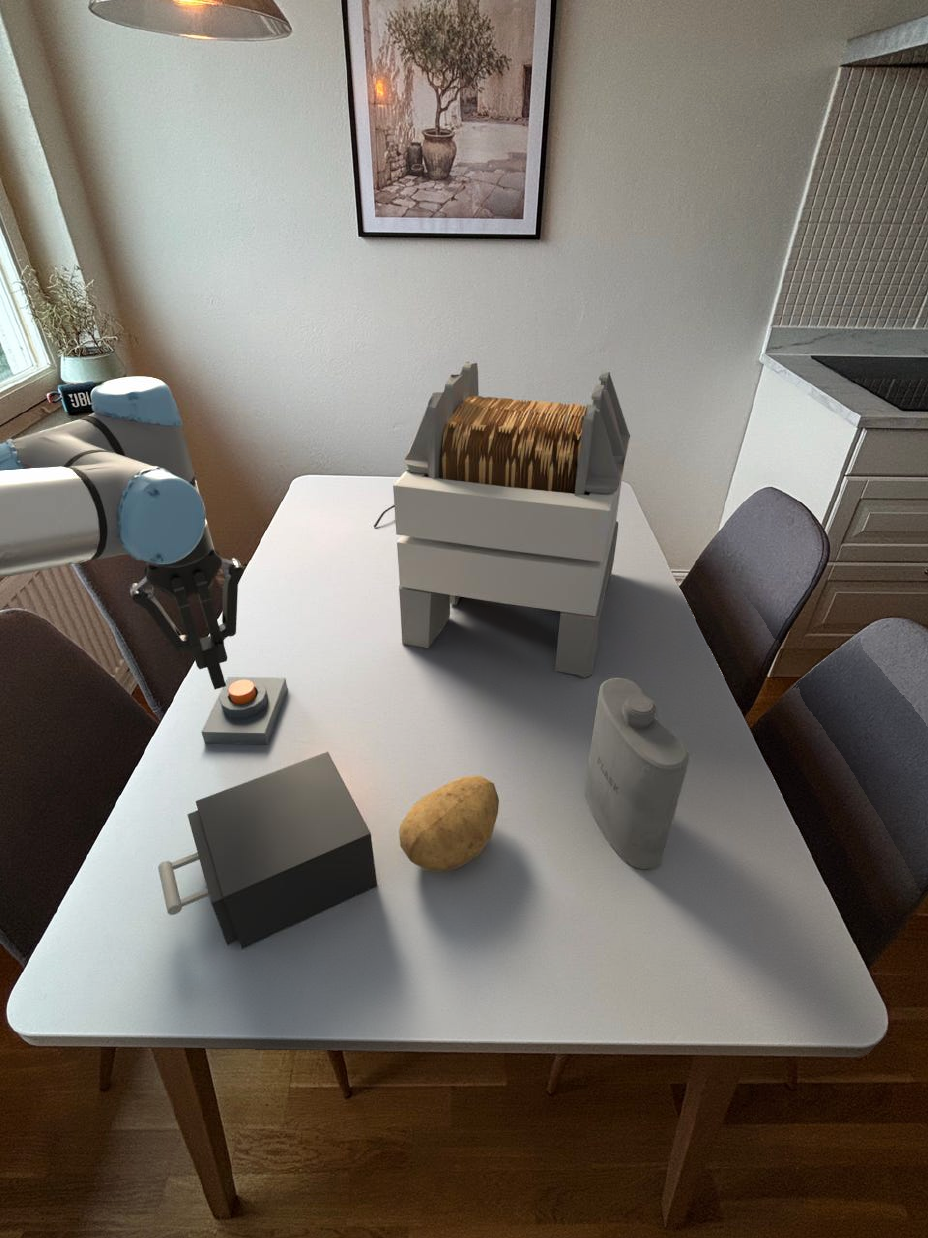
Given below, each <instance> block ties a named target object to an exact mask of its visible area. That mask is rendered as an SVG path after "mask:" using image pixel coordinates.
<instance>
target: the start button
mask: <svg viewBox="0 0 928 1238" xmlns="http://www.w3.org/2000/svg"><path fill="white" fill-rule="evenodd" d="M229 695H230V698H231V701H232V702H233V703H235V704H245V703H248V702H251V701H252V700H253V699H254V698H255V697H256V691H255V687H254V684H253V682H252V681H250V680H239V681H236V682H234V683H233V684H231V685H230V687H229Z"/></svg>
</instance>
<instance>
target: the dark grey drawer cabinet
mask: <svg viewBox="0 0 928 1238" xmlns="http://www.w3.org/2000/svg"><path fill="white" fill-rule="evenodd" d="M195 804H196V809H197V810H198V812H199V815H200V819H201V822H202V826H203V829H204V833H205V836H206V840H207V843H208V847H209V850H210V854H211V857H212V861H213V864H214V868H215V871H216V875H217V878H218V881H219V885H220V888H221V892H222V895H223V899H224V901H225V904H226V907H227V910H228V913H229V915H230V918H231V921H232V924H233V927H234V929H235V932H236V935H237V938H238V941H237V942H238V944H239V946H240V949H241V950H245V949H246V948H249V947H250V946H253V945H255V944H257V943H259V942H261V941H263V940H265V939H267V938H269V937H272V936H274V935H277V934H278V933H281V932H283V931H284V930H287V929H289V928H291V927H293V926H295V925H298V924H300V923H302V922H304V921H306V920H309V919H310V918H312V917H314V916H316V915H318V914H321V913H323V912H325V911H327V910H330V909H332V908H333V907H336V906H338V905H340V904H343V903H344V902H346V901H348V900H351V899H353V898H355V897H357V896H359V895H362V894H363V893H366V892H368V891H370V890H373V889H374V888H376V887H378V880H377V870H376V864H375V863H376V862H375V855H374V848H373V841H372V833H371V831H370V829H369V827H368V825H367V823H366V821H365V820H364V817H363V816H362V814H361V812H360V810H359V808H358V806H357V804H356V802H355V800H354V799H353V796H352V795H351V793H350V791H349V789H348V788H347V785H346V783H345V782H344V779H343V778H342V776H341V774H340V772H339V770H338V768H337V766H336V764H335V763H334V760H333V759H332V756H331V755H330V753H329V751H326V752H323V753H320V754H318V755H315V756H312V757H309V758H308V759H305V760H302V761H299V762H296V763H294V764H291V765H288V766H286V767H285V766H284V767H283V768H281V769H278V770H275V771H273V772H269V773H267V774H264V775H262V776H259V777H257V778H253V779H251V780H248V781H245V782H243V783H240V784H237V785H235V786H233V787H229V788H227V789H224V790H222V791H219V792H216V793H214V794H213V793H212V794H210V795H209V796H204V797H202V798H200V799H197V800H195Z"/></svg>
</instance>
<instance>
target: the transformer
mask: <svg viewBox="0 0 928 1238" xmlns="http://www.w3.org/2000/svg"><path fill="white" fill-rule="evenodd" d="M598 380H599V384H595V386H594V388H593V391H592V393H591V396H590V398H591V401H592V403H591V404H585V405H581V404H580V403H579V404H578V403H567V404H566V403H564V404H563V403H561V402H553V401H544V400H543V401H542V400H527V401H526V400H523V399H522V400H520V399H517V398H513V399H512V398H506V397H495V396H494V397H492V396H485V397H483V396H481V395H479V393H480V392H479V368H478V362H474V363H470V361H466V362H465V363H464V364H463V365H462V368H461V370H460V373H459V374H458V373H453V374H450V376H449V378H448V379H447V381H446V382H445V384H444V389H443V392H440V391H439V392H438V391H435V392H433V393H432V394H431V396H430V399H429V400H428V402H427V406H426V408H425V411H424V413H423V415H422V418H421V420H420V423H419V425H418V428H417V430H416V432H415V433H414V434H415V435H414V437H413V440H412V441H411V444H410V447H409V449H408V451H407V454H406V456H405V457H404V465H403V468H404V470H405V471H404V472H403V473H402V474H401V476H400V477H398V479H397V480H396V481H395V482H394V484H393V485H392V489H393V505H394V507H393V508H394V521H395V534H396V535H398V536H400V538H399V539H398V540H397V541H396V548H397V564H398V577H399V579H398V580H399V585H398V592H399V594H398V595H399V607H400V627H401V645H405V646H407V647H410V646H414V647H418V648H419V647H420V648H424V649H429V648H430V647H431V646H432V644H433V643H434V641H436V638H437V637H438V635H439V634H440V633H441V631H442V629H443V628H444V627H445V625H446V624H447V622H448V621H449V619H450V617H451V605H457V603H458V602H459V600H460V598H461V597H463V598H467V599H474V600H479V601H487V602H494V603H499V604H505V605H513V606H519V607H521V606H522V607H527V608H535V609H541V610H547V611H548V610H549V611H555V612H560V615H559V616H560V617H559V627H558V637H557V648H556V659H555V666H554V667H555V668H554V670H555V671H554V672H559V673H564V674H571V675H574V676H579V677H581V678H587V677H589V676H591V675H593V670H594V666H595V661H596V656H597V648H598V641H599V634H600V627H601V622H602V621H601V620H602V614H603V608H604V601H605V598H606V597H605V595H606V590H607V589H609V587H610V581H611V577H612V571H613V566H614V562H615V554H616V549H617V548H616V546H617V540H618V533H619V522H618V521H617V517H618V510H619V505H620V498H621V497H620V496H621V489H622V483H623V480H622V479H623V475H624V468H625V462H626V457H627V453H628V448H629V444H630V439H631V434H630V431H629V430H630V428H628V425H627V423H626V418H625V416H624V412H623V410H622V407H621V404H620V401H619V397H618V395H617V392H616V388H615V386H614V382H613V380H612V376H611V372H609V371H605V370H601V371H600V373H599V377H598Z"/></svg>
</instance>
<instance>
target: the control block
mask: <svg viewBox="0 0 928 1238" xmlns="http://www.w3.org/2000/svg"><path fill="white" fill-rule="evenodd" d="M239 680H250V681H252V682H253V684H254V687H255V691H256V697H255V698H254V699H253V700H252V701H251V702H248V703H245V704H235V703H233V702H232V701H231V698H230V695H229V687H230V685H231V684H233V683H234V682H236V681H239ZM225 684H226V686H225V687H221V688H222V689H221V691H220V692H219V695H218V697H217V698H216V701H215V703H214V705H213V707H212V709H211V711H210V712H209V716H208V717H207V720H206V721H205V724H204V725H203V727H202V729H201V731H200V732H201V735H202V738H203V742H204V744H227V745H228V744H231V745H232V744H233V745H268V743H269V741H270V738H271V735H272V732H273V730H274V727H275V724H276V721H277V719H278V716H279V714H280V710H281V708H282V705H283V702H284V700H285V697H286V694H287V691H288V683H287V678H286V677H252V676H251V677H250V676H227V677H226V680H225Z"/></svg>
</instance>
